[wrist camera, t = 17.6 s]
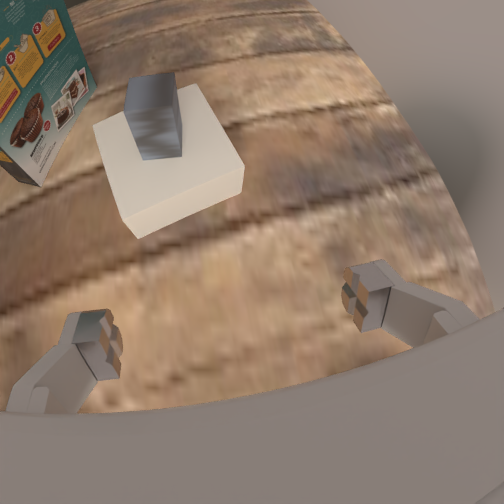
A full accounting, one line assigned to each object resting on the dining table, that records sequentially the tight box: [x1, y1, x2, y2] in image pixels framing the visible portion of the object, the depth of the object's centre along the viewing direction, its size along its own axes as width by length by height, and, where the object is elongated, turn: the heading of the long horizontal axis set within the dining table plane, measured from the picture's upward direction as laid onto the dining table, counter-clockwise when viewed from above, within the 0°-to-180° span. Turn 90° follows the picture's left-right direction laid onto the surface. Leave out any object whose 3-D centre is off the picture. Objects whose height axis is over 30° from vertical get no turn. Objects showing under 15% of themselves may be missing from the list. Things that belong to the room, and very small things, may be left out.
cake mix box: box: [0, 0, 97, 187], centre depth 32 cm, size 22×6×30 cm, turn 166°
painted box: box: [92, 83, 245, 239], centre depth 42 cm, size 16×16×8 cm
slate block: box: [123, 72, 182, 161], centre depth 33 cm, size 5×5×10 cm
